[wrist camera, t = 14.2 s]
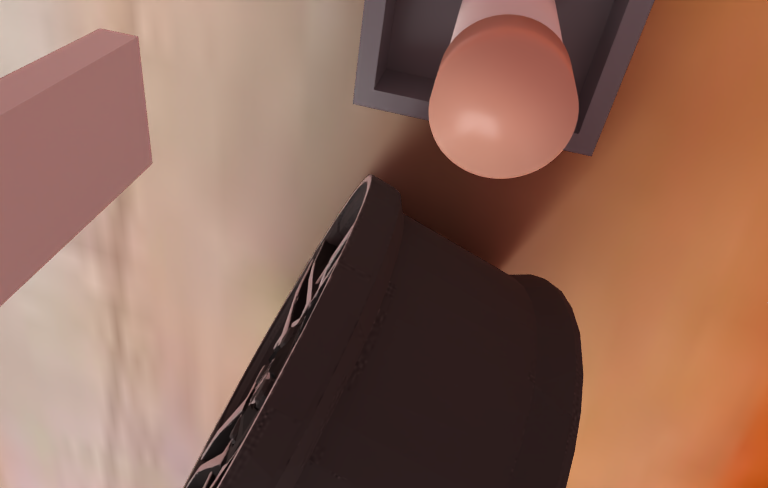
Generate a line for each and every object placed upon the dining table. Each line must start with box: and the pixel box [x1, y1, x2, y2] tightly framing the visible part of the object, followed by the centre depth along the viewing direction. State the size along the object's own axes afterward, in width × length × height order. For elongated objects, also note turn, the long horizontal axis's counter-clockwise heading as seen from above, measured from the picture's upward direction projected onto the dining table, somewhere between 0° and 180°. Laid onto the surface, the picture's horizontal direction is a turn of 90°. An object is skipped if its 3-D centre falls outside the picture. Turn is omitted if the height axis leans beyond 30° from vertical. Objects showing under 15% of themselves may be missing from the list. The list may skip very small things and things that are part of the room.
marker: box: [429, 0, 579, 179], centre depth 18 cm, size 3×3×12 cm
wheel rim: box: [183, 174, 583, 488], centre depth 26 cm, size 20×9×20 cm, turn 152°
